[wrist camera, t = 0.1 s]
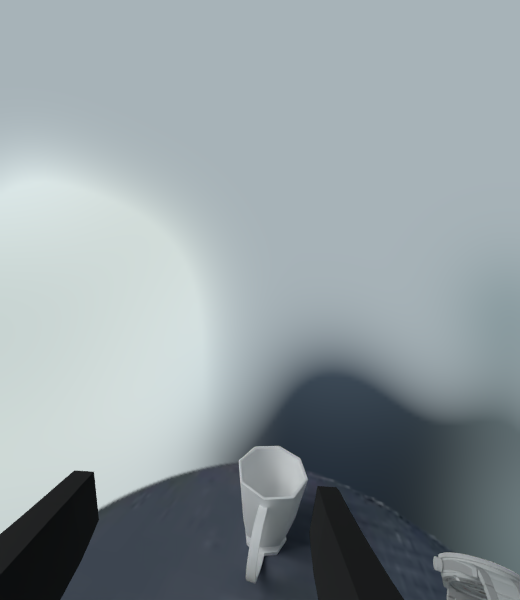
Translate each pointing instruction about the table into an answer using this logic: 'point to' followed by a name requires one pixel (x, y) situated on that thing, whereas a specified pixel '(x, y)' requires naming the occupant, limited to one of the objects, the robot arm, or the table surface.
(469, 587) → the watch
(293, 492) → the cup
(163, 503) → the table surface
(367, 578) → the robot arm
